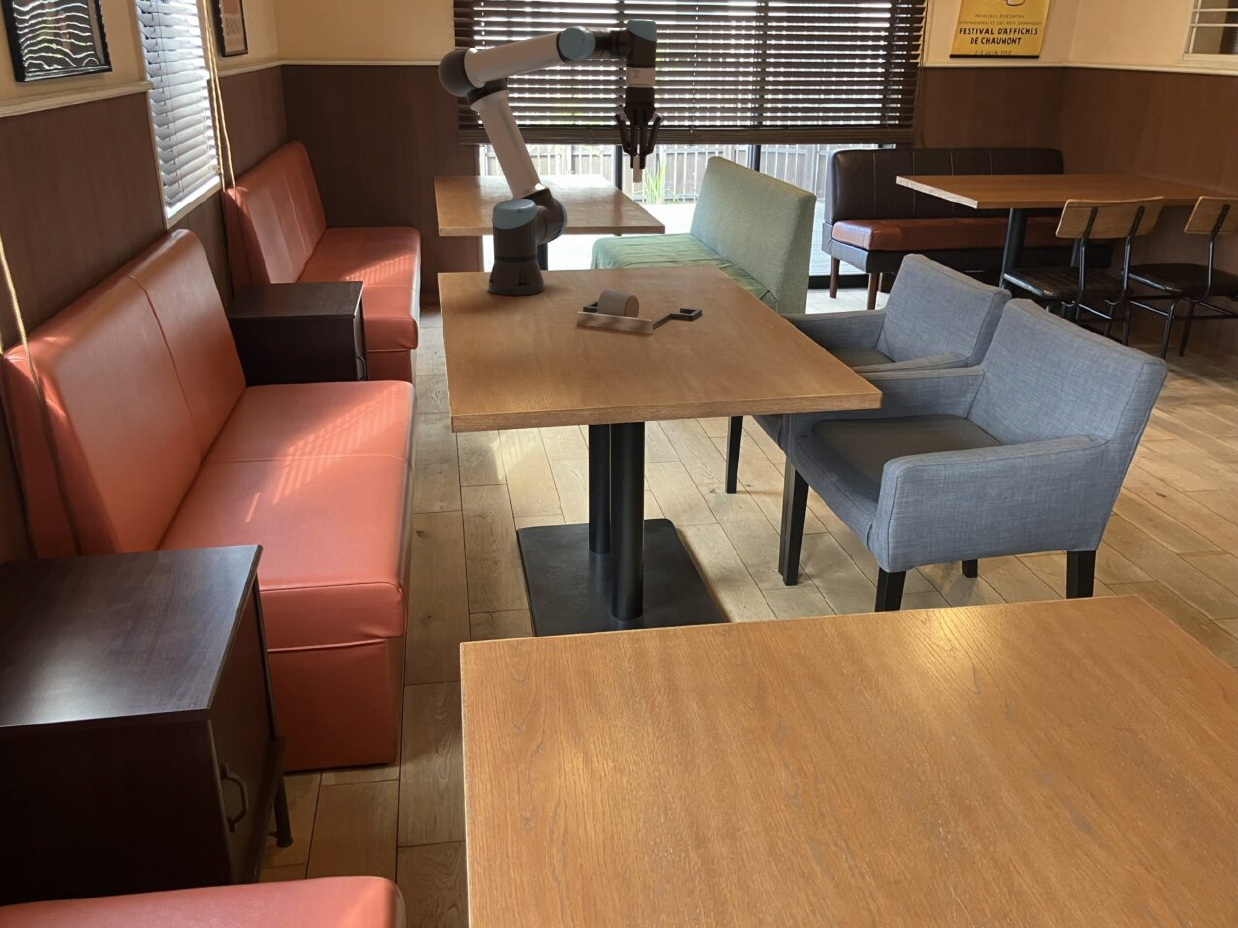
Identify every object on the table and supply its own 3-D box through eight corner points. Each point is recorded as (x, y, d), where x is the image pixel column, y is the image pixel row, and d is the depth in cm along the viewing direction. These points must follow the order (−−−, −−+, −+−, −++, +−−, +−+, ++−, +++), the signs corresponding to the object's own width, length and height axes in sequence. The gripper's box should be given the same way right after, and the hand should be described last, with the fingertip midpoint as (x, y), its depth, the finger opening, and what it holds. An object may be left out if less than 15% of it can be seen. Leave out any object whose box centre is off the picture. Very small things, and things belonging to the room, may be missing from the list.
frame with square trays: (560, 323, 247) (559, 310, 246) (599, 303, 267) (599, 291, 265) (668, 335, 237) (669, 323, 236) (701, 314, 256) (702, 302, 255)
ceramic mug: (626, 327, 244) (627, 295, 241) (596, 323, 247) (596, 291, 244) (646, 319, 252) (647, 288, 250) (617, 315, 256) (618, 284, 253)
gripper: (610, 85, 259) (608, 181, 268) (659, 87, 254) (655, 185, 263) (622, 84, 265) (619, 178, 274) (669, 86, 261) (665, 182, 270)
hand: (637, 182), depth 269 cm, fingers closed
